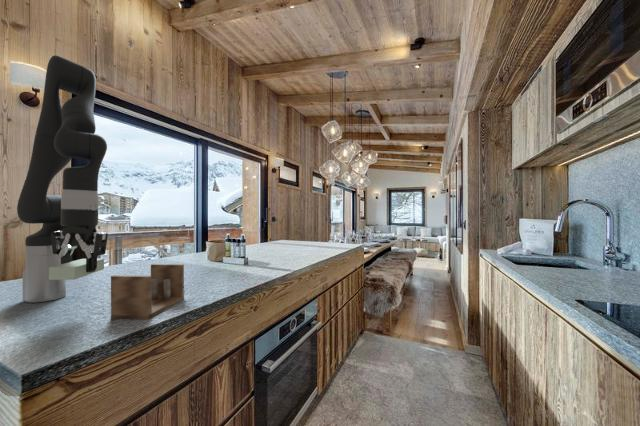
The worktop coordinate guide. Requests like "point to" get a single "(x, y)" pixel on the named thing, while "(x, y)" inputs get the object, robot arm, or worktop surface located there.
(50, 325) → the worktop surface
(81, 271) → the shelf board
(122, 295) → the peg cradle
